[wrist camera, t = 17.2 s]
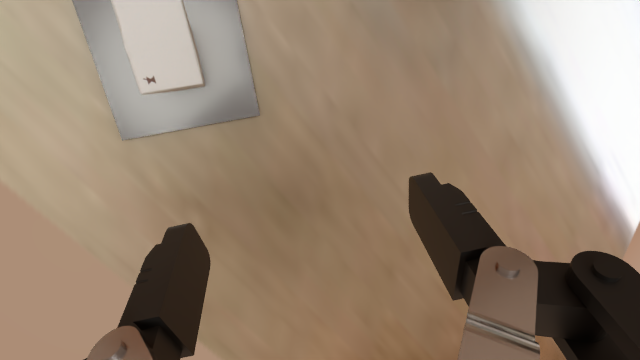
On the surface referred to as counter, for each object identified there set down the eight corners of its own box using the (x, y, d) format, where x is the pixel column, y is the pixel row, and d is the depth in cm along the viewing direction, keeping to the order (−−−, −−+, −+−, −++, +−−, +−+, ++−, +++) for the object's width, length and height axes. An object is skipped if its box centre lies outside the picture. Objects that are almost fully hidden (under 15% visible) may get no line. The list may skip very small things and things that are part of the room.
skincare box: (206, 86, 33) (205, 87, 22) (162, 92, 32) (138, 97, 21) (190, 21, 31) (180, -13, 20) (142, 26, 30) (104, -8, 19)
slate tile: (230, -26, 31) (230, -30, 31) (258, 114, 36) (260, 115, 35) (69, -16, 28) (65, -20, 27) (124, 138, 32) (122, 140, 32)
